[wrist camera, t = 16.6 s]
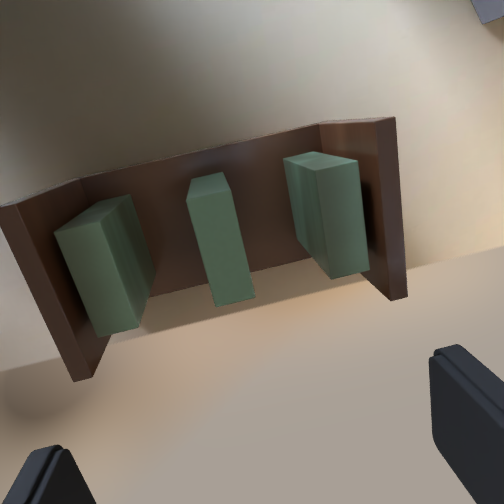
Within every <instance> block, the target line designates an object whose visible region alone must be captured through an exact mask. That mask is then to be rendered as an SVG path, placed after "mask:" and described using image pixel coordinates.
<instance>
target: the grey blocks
mask: <svg viewBox="0 0 504 504" xmlns="http://www.w3.org/2000/svg"><path fill="white" fill-rule="evenodd" d="M471 1H472V4H473V6H474V8H475V10H476V12H477V14H478V16H479V19H480V21H481V23H482V24H485V23H488V22H490V21H493V20H496V19H498V18H501V17H504V0H471Z"/></svg>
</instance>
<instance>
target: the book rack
mask: <svg viewBox="0 0 504 504" xmlns="http://www.w3.org/2000/svg"><path fill="white" fill-rule="evenodd" d="M220 172H223V173H224V176H225V178H226V180H227V183H228V185H229V187H230V189H231V193H232V197H233V201H234V206H235V210H236V214H237V219H238V223H239V227H240V232H241V236H242V240H243V244H244V249H245V253H246V257H247V262H248V266H249V270H250V273H251V272H255V271H259V270H263V269H267V268H271V267H275V266H279V265H283V264H287V263H291V262H295V261H299V260H303V259H307V258H311V257H312V258H313V259H314V260H315V261H316V262H317V263H318V265H319V266H320V267H321V268H322V269H323V271H324V272H325V273H326V274H327V275H328V277H329V278H330V279H331V280H332V279H336V278H340V277H344V276H348V275H352V274H356V273H361V274H362V275H363V276H364V277H365V278H366V279H367V280H368V281H369V282H370V283H371V284H372V285H374V286H375V287H376V288H377V289H378V290H379V291H380V292H381V293H382V294H383V295H384V296H385V297H387V298H388V299H389V300H390V301H393V300H398V299H402V298H405V297H408V291H407V277H406V262H405V248H404V233H403V219H402V205H401V190H400V176H399V162H398V147H397V133H396V119H395V117H379V118H364V119H348V120H333V121H325V122H320V123H316V124H312V125H307V126H303V127H298V128H294V129H290V130H285V131H281V132H276V133H272V134H268V135H263V136H259V137H255V138H250V139H246V140H241V141H237V142H233V143H228V144H224V145H219V146H215V147H211V148H206V149H202V150H197V151H193V152H189V153H184V154H180V155H176V156H171V157H167V158H162V159H158V160H154V161H149V162H145V163H140V164H136V165H132V166H127V167H123V168H119V169H114V170H110V171H105V172H101V173H97V174H92V175H88V176H83V177H79V178H75V179H70V180H67V181H65V182H62V183H60V184H57V185H54V186H52V187H49V188H46V189H44V190H41V191H38V192H36V193H33V194H30V195H28V196H25V197H22V198H20V199H17V200H15V201H12V202H9V203H7V204H4V205H1V206H0V227H1V229H2V231H3V233H4V235H5V237H6V240H7V242H8V244H9V246H10V248H11V250H12V252H13V255H14V257H15V259H16V261H17V263H18V265H19V267H20V269H21V272H22V274H23V276H24V278H25V280H26V282H27V284H28V287H29V289H30V291H31V293H32V295H33V297H34V299H35V301H36V304H37V306H38V308H39V310H40V312H41V314H42V316H43V318H44V321H45V323H46V325H47V327H48V329H49V331H50V333H51V336H52V338H53V340H54V342H55V344H56V346H57V348H58V350H59V353H60V355H61V357H62V359H63V361H64V363H65V365H66V367H67V370H68V372H69V374H70V376H71V378H72V380H73V382H77V381H80V380H85V379H88V378H92V377H93V375H94V373H95V371H96V368H97V366H98V364H99V362H100V360H101V357H102V355H103V353H104V351H105V348H106V346H107V344H108V342H109V340H110V337H111V335H112V334H115V333H119V332H123V331H127V330H131V329H135V328H138V327H139V324H140V321H141V318H142V315H143V312H144V309H145V306H146V303H147V300H148V298H149V297H153V296H157V295H161V294H165V293H169V292H173V291H177V290H182V289H186V288H190V287H194V286H198V285H202V284H206V283H209V282H208V278H207V275H206V271H205V268H204V264H203V260H202V257H201V253H200V250H199V246H198V242H197V239H196V235H195V232H194V228H193V224H192V221H191V217H190V214H189V210H188V206H187V203H186V199H187V195H188V191H189V187H190V183H191V179H194V178H198V177H202V176H207V175H211V174H215V173H220Z"/></svg>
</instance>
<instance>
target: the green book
mask: <svg viewBox="0 0 504 504" xmlns="http://www.w3.org/2000/svg"><path fill="white" fill-rule="evenodd" d="M186 203H187V206H188V210H189V214H190V217H191V221H192V224H193V228H194V232H195V235H196V239H197V242H198V246H199V250H200V253H201V257H202V260H203V264H204V268H205V271H206V275H207V278H208V282H209V285H210V289H211V293H212V296H213V300H214V303H215V307H220V306H224V305H228V304H232V303H236V302H240V301H244V300H248V299H252V298H255V292H254V288H253V283H252V279H251V275H250V270H249V266H248V262H247V257H246V253H245V249H244V244H243V240H242V236H241V232H240V227H239V223H238V219H237V214H236V210H235V206H234V201H233V197H232V193H231V189H230V187H229V185H228V183H227V180H226V178H225V176H224V173H223V172H220V173H215V174H211V175H207V176H202V177H198V178H194V179H191V183H190V187H189V191H188V195H187V199H186Z"/></svg>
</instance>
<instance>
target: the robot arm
mask: <svg viewBox="0 0 504 504" xmlns="http://www.w3.org/2000/svg"><path fill="white" fill-rule="evenodd" d="M429 377H430V396H431V417H432V434H433V439H434V442H435V445H436V446H437V448H438V450H439V451H440V453H441V454H442V456H443V457H444V459H445V460H446V461H447V463H448V464H449V466H450V467H451V468H452V470H453V471H454V473H455V474H456V475H457V477H458V478H459V480H460V481H461V482H462V484H463V485H464V487H465V488H466V489H467V491H468V492H469V493H470V495H471V496H472V498H473V499H474V500H475V502H476V503H477V504H504V382H503V381H502V380H501V379H500V378H498V377H497V376H496V375H495V374H494V373H493V372H491V371H490V370H489V369H488V368H487V367H486V366H484V365H483V364H482V363H481V362H480V361H479V360H477V359H476V358H475V357H474V356H472V354H470V353H469V352H468V351H467V350H466V349H465V348H463V347H462V346H461V345H458V344H456V345H452V346H448V347H444V348H440V349H436V350H435V351H434V356H433V357H430V358H429ZM2 504H96V502H95V500H94V498H93V496H92V494H91V492H90V490H89V488H88V486H87V484H86V482H85V480H84V478H83V476H82V474H81V472H80V470H79V468H78V466H77V465H76V462H75V460H74V458H73V456H72V454H71V453H70V451H69V450H68V449H63V448H62V446H60V445H53V446H49V447H45V448H41V449H37V450H34V451H33V452H31V453H30V455H29V456H28V458H27V460H26V461H25V463H24V465H23V467H22V469H21V470H20V472H19V474H18V476H17V478H16V480H15V481H14V483H13V485H12V487H11V489H10V490H9V492H8V494H7V496H6V498H5V499H4V501H3V503H2Z"/></svg>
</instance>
